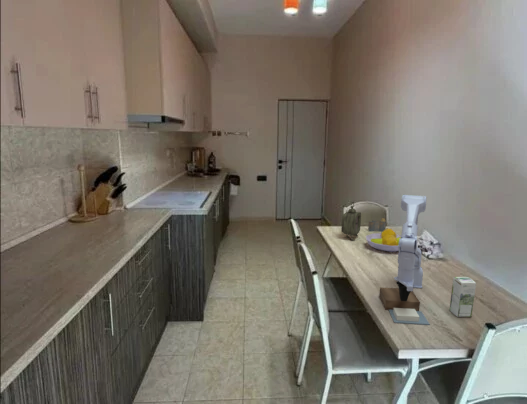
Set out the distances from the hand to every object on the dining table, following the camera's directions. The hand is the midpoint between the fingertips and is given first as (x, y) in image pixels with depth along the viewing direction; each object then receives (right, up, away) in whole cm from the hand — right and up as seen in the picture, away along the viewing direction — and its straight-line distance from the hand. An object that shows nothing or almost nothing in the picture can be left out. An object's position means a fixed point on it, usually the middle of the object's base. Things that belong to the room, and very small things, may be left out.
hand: (403, 300), depth 138 cm
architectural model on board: (+26, +17, +115) cm, 119 cm away
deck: (+1, -3, +8) cm, 8 cm away
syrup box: (+22, -5, -1) cm, 23 cm away
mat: (0, -6, -3) cm, 7 cm away
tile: (-1, -3, -4) cm, 5 cm away
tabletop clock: (+3, +14, +97) cm, 98 cm away
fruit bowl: (+22, +10, +76) cm, 80 cm away
